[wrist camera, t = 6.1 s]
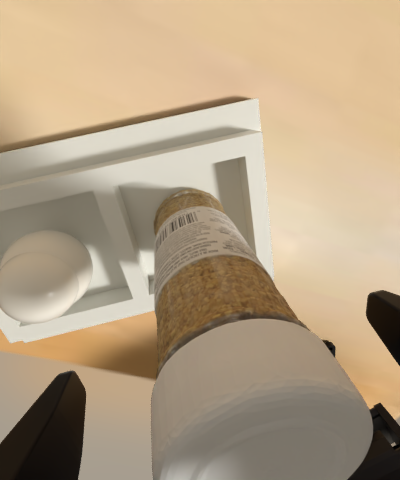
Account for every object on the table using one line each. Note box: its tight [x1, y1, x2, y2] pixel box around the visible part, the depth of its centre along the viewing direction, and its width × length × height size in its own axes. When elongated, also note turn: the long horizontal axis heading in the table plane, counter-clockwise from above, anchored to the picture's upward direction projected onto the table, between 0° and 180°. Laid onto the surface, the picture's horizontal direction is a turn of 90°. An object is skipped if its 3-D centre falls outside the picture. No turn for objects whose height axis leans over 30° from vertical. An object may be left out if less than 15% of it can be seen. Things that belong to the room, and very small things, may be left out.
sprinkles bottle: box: [151, 189, 373, 480], centre depth 11 cm, size 5×5×14 cm
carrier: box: [0, 98, 274, 343], centre depth 17 cm, size 12×18×3 cm, turn 101°
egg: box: [0, 229, 93, 324], centre depth 15 cm, size 4×4×5 cm
